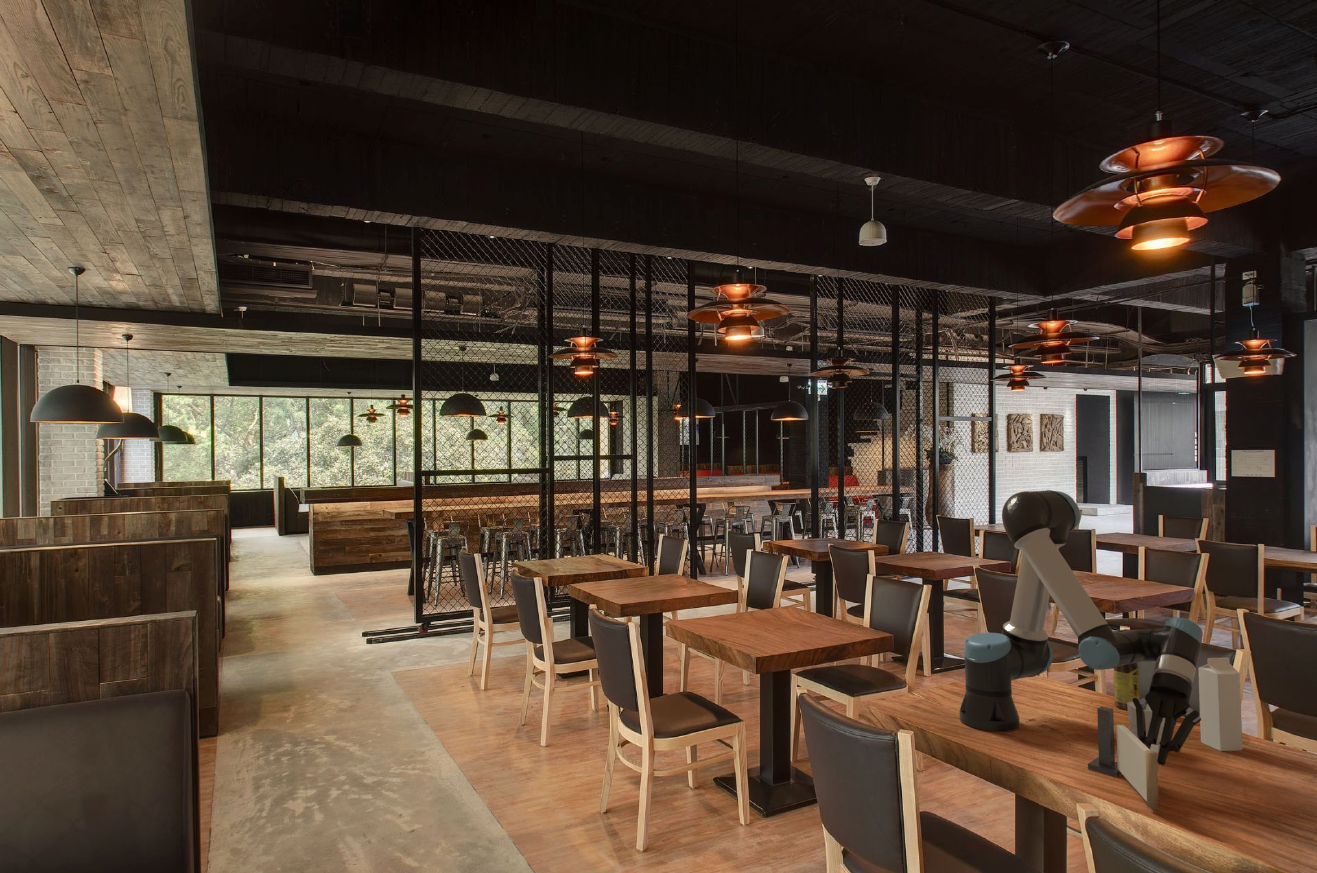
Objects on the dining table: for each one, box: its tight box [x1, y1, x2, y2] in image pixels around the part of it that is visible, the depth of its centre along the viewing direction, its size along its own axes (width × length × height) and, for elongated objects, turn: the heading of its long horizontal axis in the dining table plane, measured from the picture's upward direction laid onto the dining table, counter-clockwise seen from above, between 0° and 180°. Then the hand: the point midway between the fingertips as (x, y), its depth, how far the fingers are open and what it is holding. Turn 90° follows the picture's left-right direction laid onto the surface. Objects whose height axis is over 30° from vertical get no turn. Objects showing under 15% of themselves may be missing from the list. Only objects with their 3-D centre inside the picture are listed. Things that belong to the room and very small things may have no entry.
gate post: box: [1087, 705, 1123, 778], centre depth 172 cm, size 6×6×14 cm
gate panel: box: [1115, 723, 1160, 810], centre depth 160 cm, size 19×2×11 cm, turn 166°
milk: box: [1197, 657, 1243, 752], centre depth 186 cm, size 6×6×22 cm
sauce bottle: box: [1112, 662, 1141, 711], centre depth 215 cm, size 7×6×20 cm
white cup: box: [1127, 701, 1165, 746], centre depth 186 cm, size 8×8×10 cm
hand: (1150, 775), depth 157 cm, fingers closed
